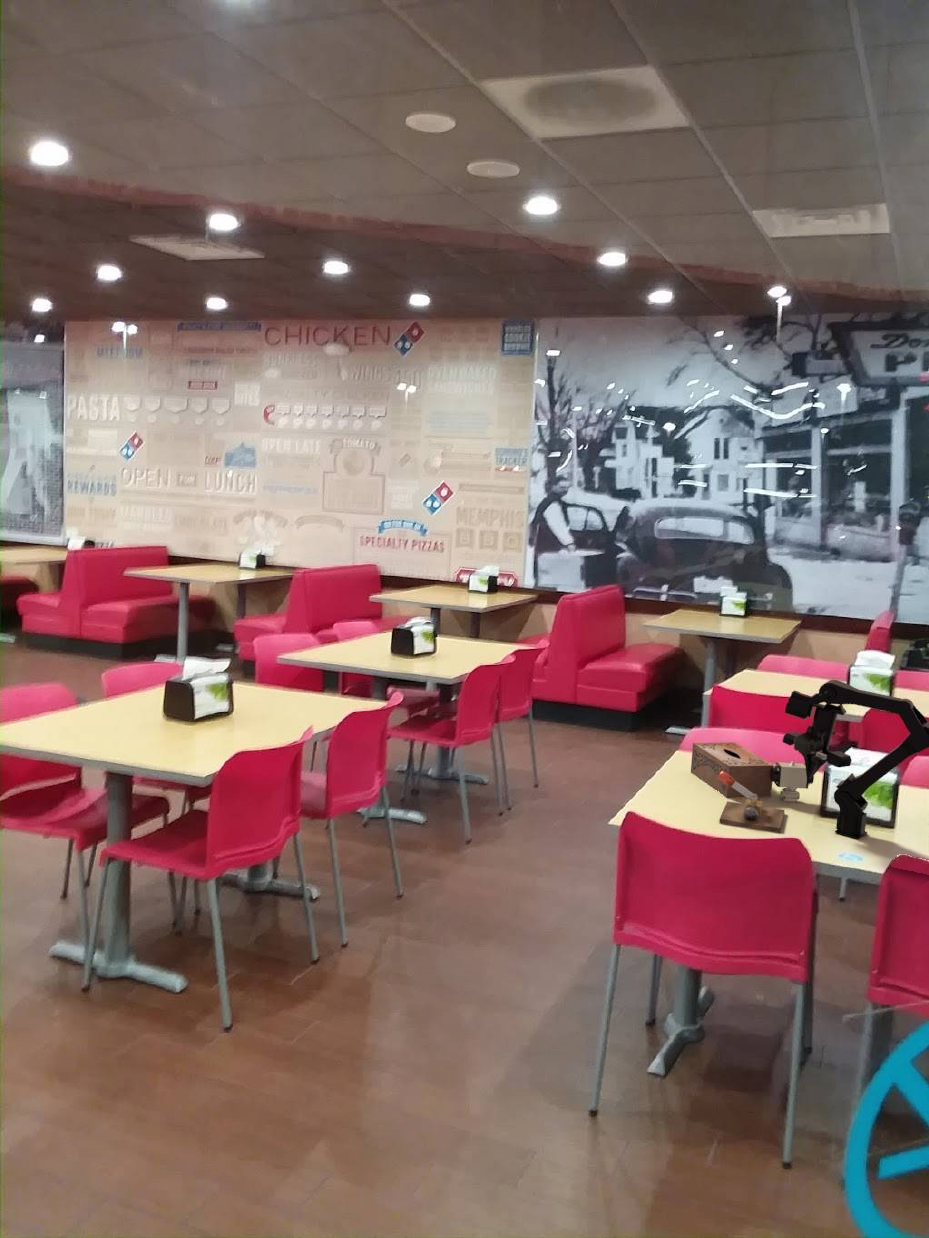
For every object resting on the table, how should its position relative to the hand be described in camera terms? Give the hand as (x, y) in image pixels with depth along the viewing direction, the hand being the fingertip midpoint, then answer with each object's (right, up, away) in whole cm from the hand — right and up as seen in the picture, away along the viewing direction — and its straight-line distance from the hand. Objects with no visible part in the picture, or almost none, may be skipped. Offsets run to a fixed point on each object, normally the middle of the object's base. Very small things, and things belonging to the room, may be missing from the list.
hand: (808, 778), depth 283 cm
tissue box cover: (-12, -8, +36) cm, 39 cm away
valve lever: (-14, -6, +4) cm, 16 cm away
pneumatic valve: (+2, -10, +23) cm, 25 cm away
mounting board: (-14, -12, +5) cm, 19 cm away
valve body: (-14, -12, +5) cm, 19 cm away
